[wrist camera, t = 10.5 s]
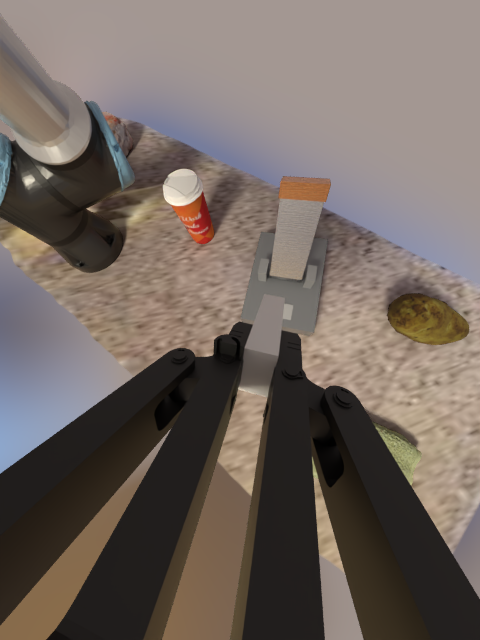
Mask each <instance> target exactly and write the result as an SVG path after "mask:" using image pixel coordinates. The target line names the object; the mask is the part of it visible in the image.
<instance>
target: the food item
mask: <svg viewBox="0 0 480 640" xmlns="http://www.w3.org/2000/svg"><path fill="white" fill-rule="evenodd" d="M102 114H103V115H104V117H105V119H106V121H107V123H108V125H109V127H110V129H111V130H112V132H113V134H114V136H115V138H116V140H117V142H118V144H119V146H120V148H121V149H122V151H123V153H124V155H125V157H126V156H127V155H128V152H129V151H130V150H131V149H132V144H133V138H132V137H131V136H130V133H129V132H128V130H127V128H126V126H125V124H124V122H123V121H121V120H120V119H118V118H117V117H115V116H113V115H112V114H110V113H107V112H102Z"/></svg>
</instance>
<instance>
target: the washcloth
mask: <svg viewBox="0 0 480 640" xmlns="http://www.w3.org/2000/svg"><path fill="white" fill-rule="evenodd" d="M373 424H374V426H375V427H376V429H377V431H378V432H379V434H380V435H381V437H382V439H383V440H384V442H385V444H386V445H387V447H388V449H389V450H390V452H391V454H392V455H393V457H394V459H395V460H396V462H397V464H398V465H399V467H400V469H401V470H402V472H403V473H404V475H405V477H406V478H407V480H408V482H409V483H410V485H412V482H413V472H414V469H415V467H416V464H417V463H418V461H419V460H420V459H421V455H422V454H421V452H420V451H419V450H417V449H416V446H414V445H412V444H411V443H410V442H408V440H407V439H406V438H405V437H404V436H403V435H401V434H399V433H397V432H396V431H392V430H389V429H387V428H386V427H383V426H380V425H378V424H376V423H375V422H373ZM312 463H313V477H316V478H318V475H317V472H316V468H315V465H314V461H313V457H312Z"/></svg>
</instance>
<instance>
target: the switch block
mask: <svg viewBox="0 0 480 640" xmlns="http://www.w3.org/2000/svg"><path fill="white" fill-rule="evenodd" d="M274 240H275V233H268V232H261V235H260V239H259V243H258V247H257V251H256V255H255V260H254V264H253V268H252V272H251V276H250V281H249V285H248V289H247V293H246V297H245V301H244V306H243V310H242V314H241V320H242V322H243V323H248V324H254V321H255V318H256V315H257V313H258V310H259V307H260V305H261V302H262V299H263V296H264V294H267V295H273V296H278V297H283V298H285V302H284V312H283V321H282V330H283V331H288V332H292V333H297V334H301V335H306V336H310V335H312V334H313V333H314V329H315V323H316V316H317V309H318V303H319V296H320V289H321V283H322V276H323V269H324V263H325V256H326V249H327V242H328V239H322V238H314V239H313V242H312V246H311V249H310V253H309V256H308V259H307V263H306V266H305V271H304V277H303V281H302V283H298V282H292V281H285V280H279V279H272V278H268V277H269V270H270V266H271V262H272V255H273V247H274Z"/></svg>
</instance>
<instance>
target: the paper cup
mask: <svg viewBox="0 0 480 640" xmlns="http://www.w3.org/2000/svg"><path fill="white" fill-rule="evenodd" d="M164 183H165V184H164V185H163V191H164V198H165V199H166V201H167V202H168V203H169V204H171V206H172V207H173V209H174V210H175V212H176V213H177V215H178V216H179V218H180V220H181V221H182V223H183V224H184V226H185V227H186V229H187V230H188V232H189V233H190V235H191V236H192V238H193V239H194V240H195V241H196V242H197V243H199V244H205V243H208V242H210V241H211V240H212V238H213V237H214V229H213V225H212V222H211V218H210V215H209V211H208V208H207V204H206V201H205V197H204V194H203V185H202V181H201V179H200V178H199V177H198V176H197V175H196V174H195V173H194V172H193V171H192V170H189V169H179V170H176V171H174V172H172V173H171V174H169V175H168V178H166V180H165V182H164Z"/></svg>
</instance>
